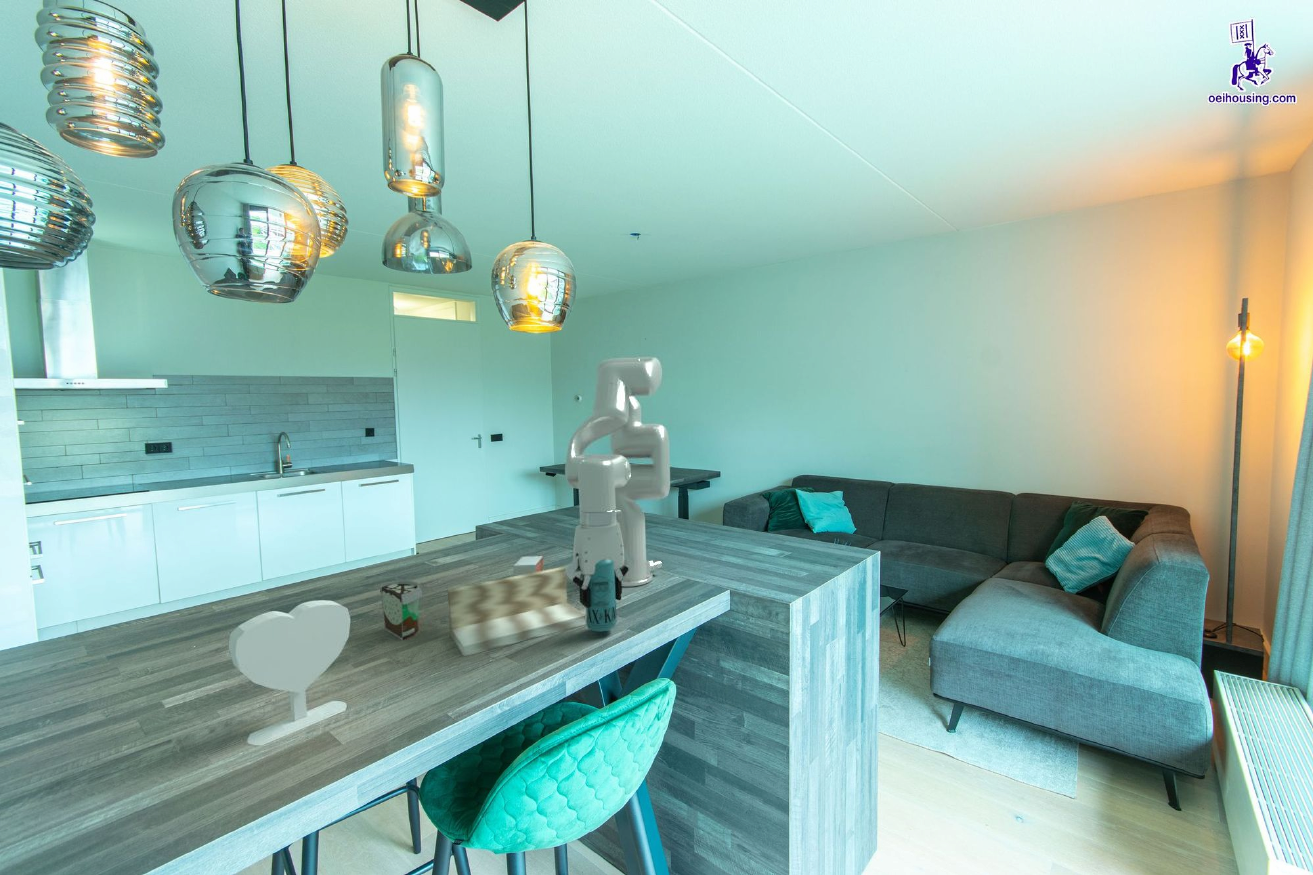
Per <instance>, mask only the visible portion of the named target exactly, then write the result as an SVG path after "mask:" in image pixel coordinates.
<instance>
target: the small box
mask: <svg viewBox="0 0 1313 875" xmlns="http://www.w3.org/2000/svg"><path fill="white" fill-rule="evenodd" d="M544 569H545V568H544V556H543V555H540V556H539V555H536V556H532V555H531V556H521V557H520V559H518V561H517V562H516V563H515V564H513V577H514V576H519V575H524V574H529V573H534V572H539V571H544Z"/></svg>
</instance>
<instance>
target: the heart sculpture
mask: <svg viewBox="0 0 1313 875" xmlns="http://www.w3.org/2000/svg"><path fill="white" fill-rule="evenodd" d="M351 621H352V620H351V616H350V613H349V608H347V607H346V606H344V605H342V604H340V603H338V602H336V601H333V600H324V599H322V600H321V599H320V600H309V601H306V602H302V603H300V604H298V605H297V606H295V607H294V608H293V609H292V610H290V611H289V612H288V613H286V612H283V611H275V610H272V611H268V612H264V613H261V614H259V615H257V616H255V617H253V618H250V619H248V620H247V621H245V622H243V623H241V624H240V625H238V626H237V627H236V628H234V629H233V631H232V632H230V634H229V640H228V641H229V643H228V651H229V654H230V658H231V661H232V664H233V666H234V667H235V668H236V669H237V670H239V671H240V672H241V673H242V674H243V675H245V677H247V678H248V679H249V680H250V681H251V682H252V683H254V684H256V685H259V686H262V687H264V688H265V687H266V688H268V689H271V690H278V691H279V690H280V691H285V692H289V703H290V704H289V705H290V708H289V709H290V717H288V718H286V719H283V720H281V721H279V722H276V723H273V724H271V725H268V726H266V727H263V728H261V729H259V730H256V731H254V732H253V731H252V732H251V733H250V734H249V736H248V737H247V740H246V742H247V744H249V745H253V746H260V747H262V746H264V745H266V744H269V743H271V742H274V741H277V740H278V739H281V738H283V737H285V736H287V735H291V734H293V733H295V732H297V731H298V732H299V731H300V730H302V729H305V728H307V727H310V726H311V725H314V724H316V723H319V722H322V721H324V720H326V719H329V718H331V717H333V716H335V715H338V714H340V713H344V712H345V711H346V710H347V705H348V704H347V703H346V702H345V701H339V700H331V701H329V702H326V703H323V704H321V705H318V706H317V707H314V708H311V709H309V710H308V709H307V697H306V695H307V694H306V690H307V688H308V687H309V686H310V685H311V684H312V683H314V682H315V680H317V679H318V678H319V677H320V676H322V674H323V673H324V672H325V671H327V670H328V669H329V667H330V666H331V665H332V664H333V663H334V661H335V660H336V659H337V658H338V657H339V656H340V655H341V654H342V653H341V652H342V651H343V648H344V647H345V645H346V643H347V641H348V639H349V637H350V628H351Z"/></svg>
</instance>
